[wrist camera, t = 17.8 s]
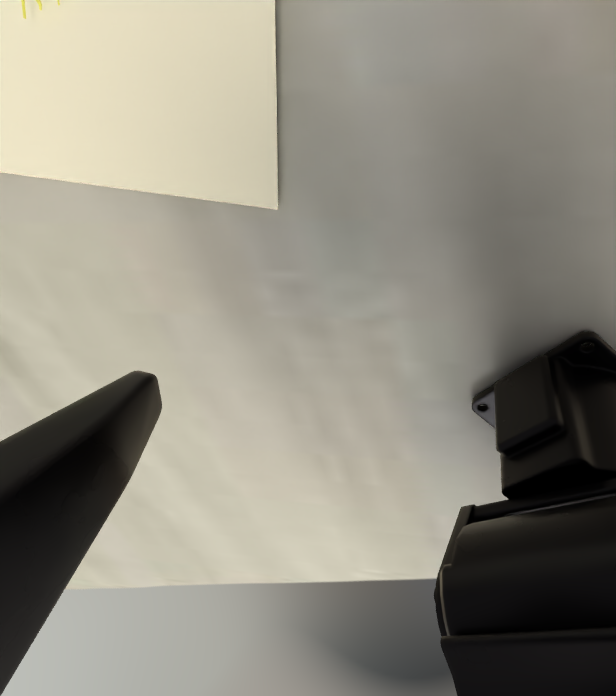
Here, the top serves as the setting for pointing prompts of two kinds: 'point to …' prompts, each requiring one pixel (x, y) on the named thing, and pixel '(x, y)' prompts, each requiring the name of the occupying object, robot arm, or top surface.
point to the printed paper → (142, 95)
